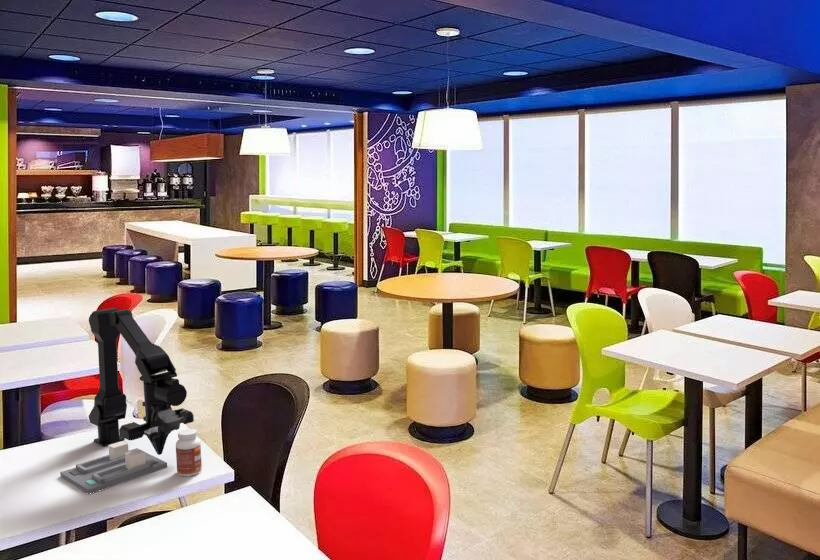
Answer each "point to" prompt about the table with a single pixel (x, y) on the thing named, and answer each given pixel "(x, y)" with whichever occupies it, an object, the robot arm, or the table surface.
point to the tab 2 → (135, 458)
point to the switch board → (108, 472)
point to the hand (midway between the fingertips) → (159, 454)
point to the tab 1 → (118, 450)
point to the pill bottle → (188, 453)
